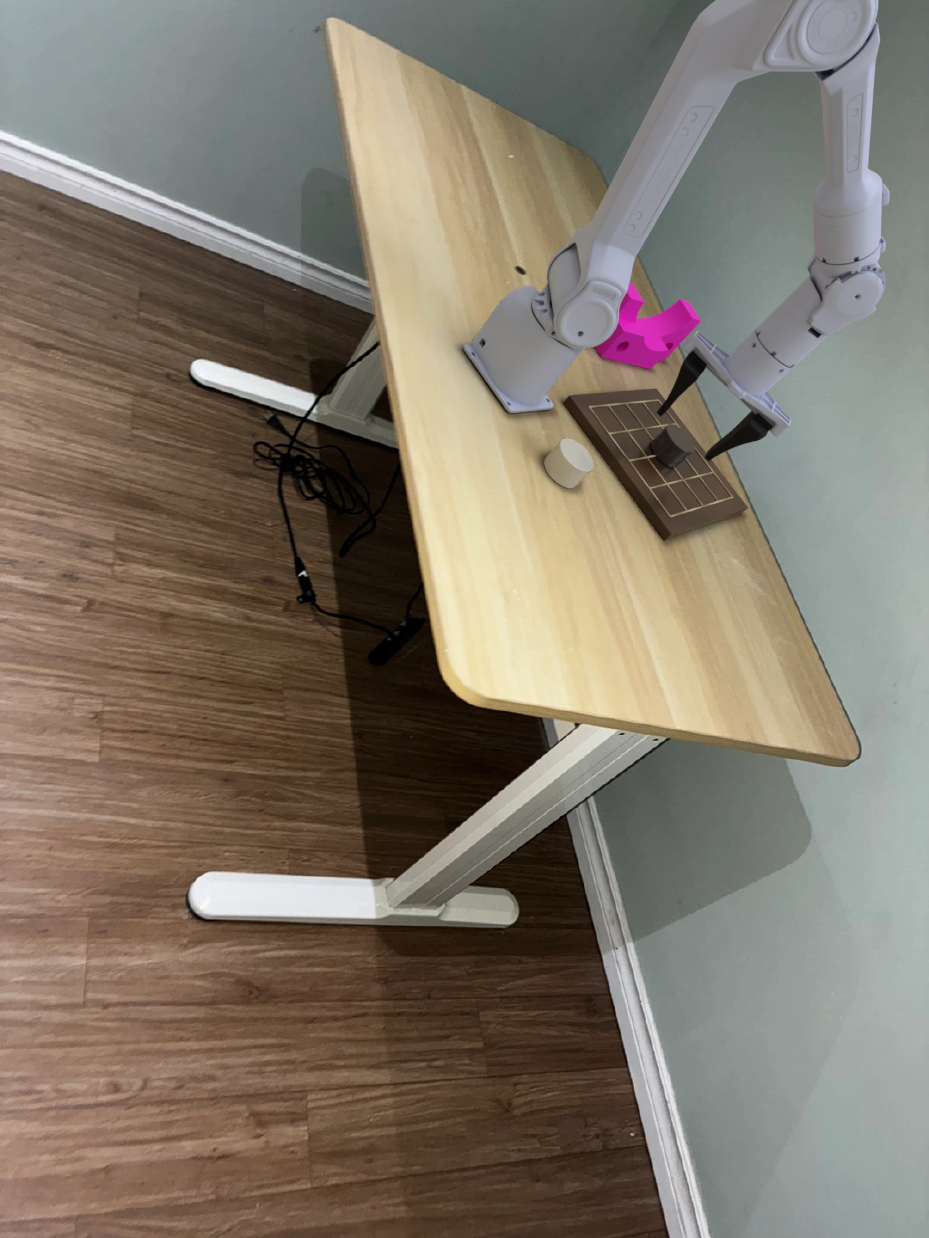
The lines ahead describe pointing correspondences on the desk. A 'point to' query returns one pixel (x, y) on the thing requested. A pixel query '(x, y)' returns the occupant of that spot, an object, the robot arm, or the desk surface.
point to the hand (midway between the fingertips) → (684, 434)
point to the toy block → (647, 332)
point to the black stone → (672, 446)
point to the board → (654, 461)
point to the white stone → (568, 463)
